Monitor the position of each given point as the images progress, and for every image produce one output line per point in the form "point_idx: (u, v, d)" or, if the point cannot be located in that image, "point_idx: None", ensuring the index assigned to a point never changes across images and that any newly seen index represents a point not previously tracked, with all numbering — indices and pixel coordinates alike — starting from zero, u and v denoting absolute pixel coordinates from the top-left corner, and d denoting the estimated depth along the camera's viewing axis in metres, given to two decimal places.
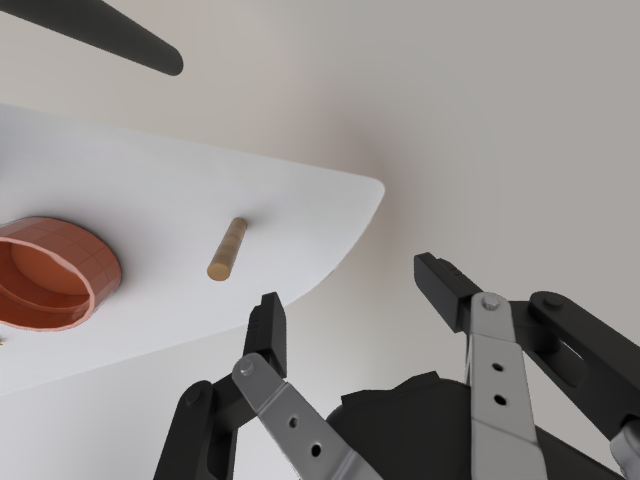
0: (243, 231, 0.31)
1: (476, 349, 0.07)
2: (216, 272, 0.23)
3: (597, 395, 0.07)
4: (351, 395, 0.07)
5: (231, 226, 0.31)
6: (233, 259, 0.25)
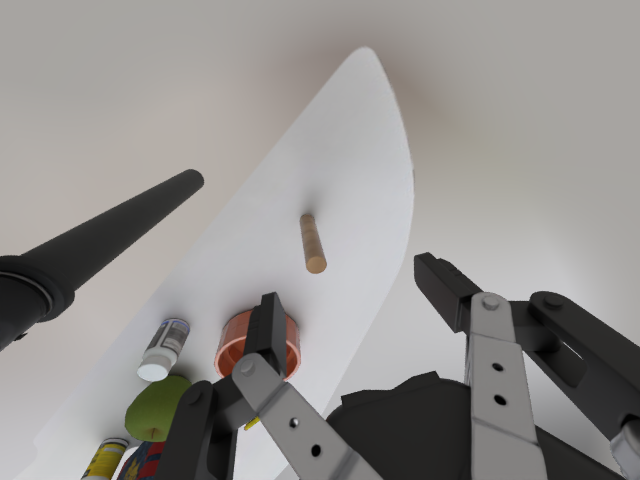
0: (311, 222, 0.32)
1: (476, 349, 0.07)
2: (315, 266, 0.24)
3: (597, 394, 0.07)
4: (351, 395, 0.07)
5: (301, 228, 0.32)
6: (318, 247, 0.26)
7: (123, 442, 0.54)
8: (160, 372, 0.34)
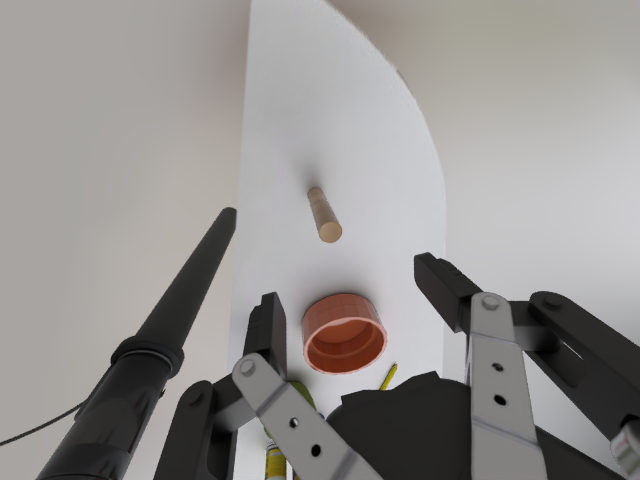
0: (316, 193, 0.29)
1: (476, 349, 0.07)
2: (329, 234, 0.21)
3: (596, 394, 0.07)
4: (351, 395, 0.07)
5: None
6: (325, 213, 0.23)
7: None
8: None
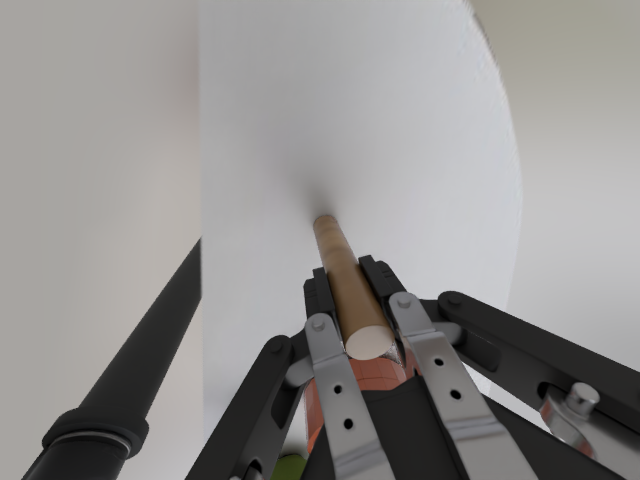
0: (329, 229, 0.17)
1: (417, 352, 0.07)
2: (368, 346, 0.10)
3: (513, 372, 0.08)
4: None
5: None
6: (355, 291, 0.11)
7: None
8: None
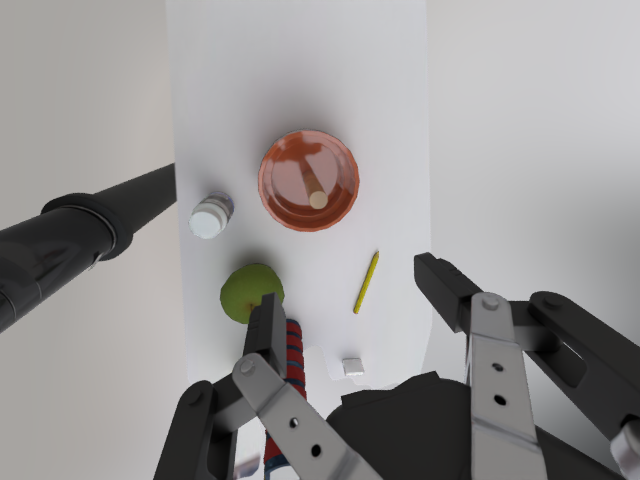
0: (309, 174, 0.34)
1: (476, 349, 0.07)
2: (318, 201, 0.27)
3: (597, 394, 0.07)
4: (351, 395, 0.07)
5: None
6: (315, 186, 0.28)
7: None
8: (211, 222, 0.31)
